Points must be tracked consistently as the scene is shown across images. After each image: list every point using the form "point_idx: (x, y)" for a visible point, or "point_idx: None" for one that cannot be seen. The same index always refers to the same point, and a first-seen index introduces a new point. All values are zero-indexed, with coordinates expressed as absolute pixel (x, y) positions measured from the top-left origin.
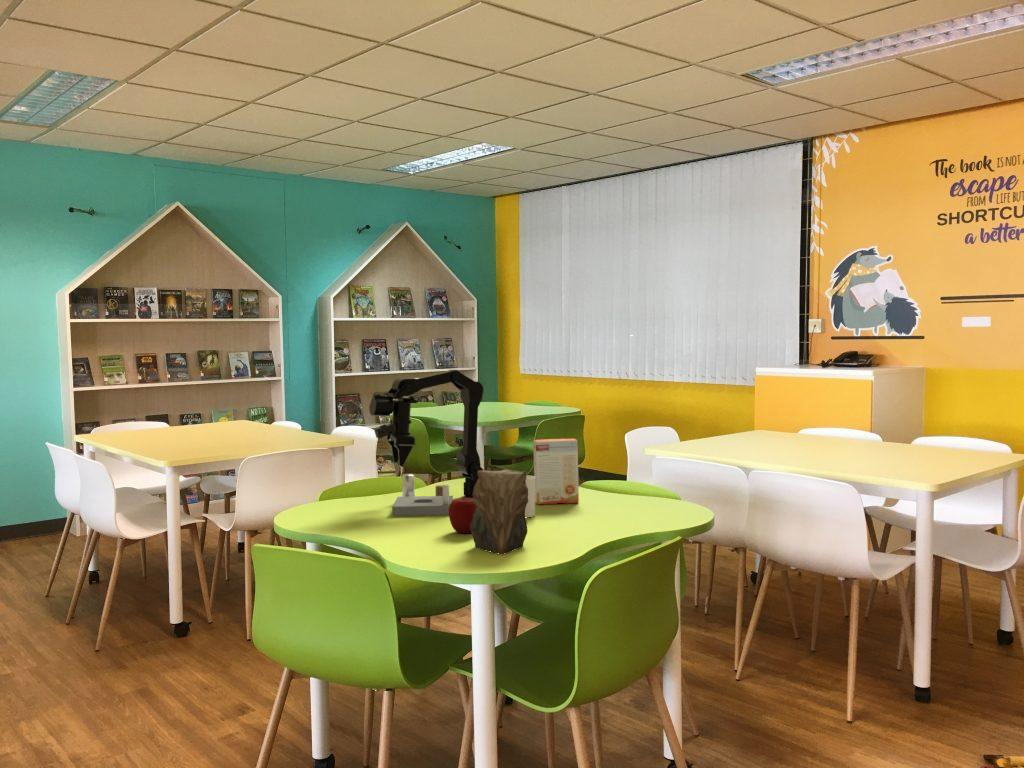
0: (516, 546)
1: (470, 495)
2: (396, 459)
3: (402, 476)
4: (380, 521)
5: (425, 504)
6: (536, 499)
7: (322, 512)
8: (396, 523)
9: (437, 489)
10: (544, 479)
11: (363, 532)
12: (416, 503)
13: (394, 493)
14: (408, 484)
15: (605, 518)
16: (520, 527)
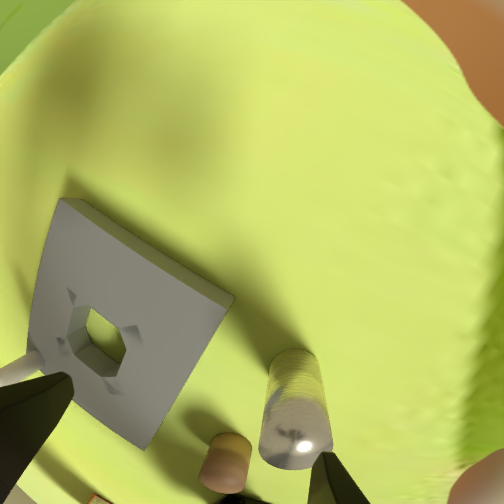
0: None
1: (227, 502)
2: (314, 483)
3: (303, 419)
4: (55, 145)
5: (48, 313)
6: (96, 502)
7: (292, 14)
8: (23, 180)
9: (213, 463)
10: None
11: (15, 93)
12: (68, 300)
13: (461, 374)
14: (266, 407)
15: None
16: None
